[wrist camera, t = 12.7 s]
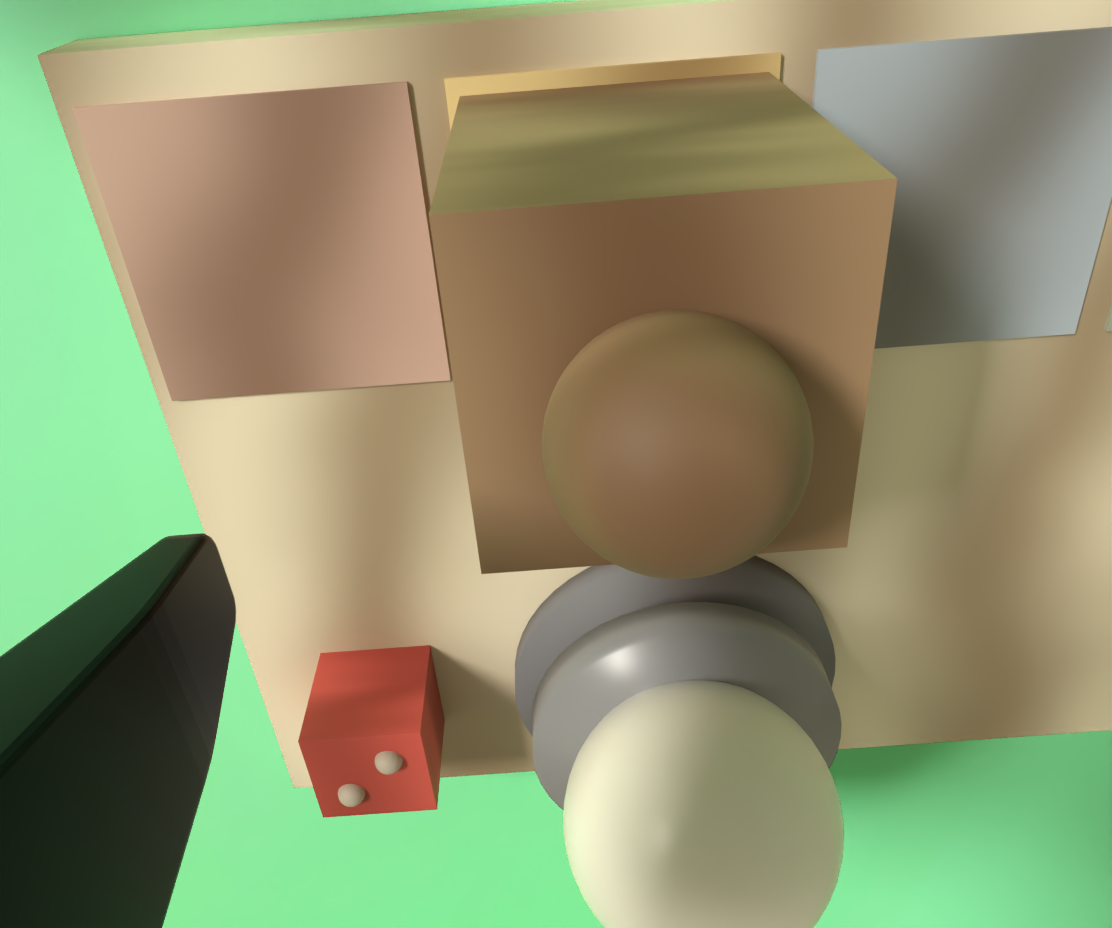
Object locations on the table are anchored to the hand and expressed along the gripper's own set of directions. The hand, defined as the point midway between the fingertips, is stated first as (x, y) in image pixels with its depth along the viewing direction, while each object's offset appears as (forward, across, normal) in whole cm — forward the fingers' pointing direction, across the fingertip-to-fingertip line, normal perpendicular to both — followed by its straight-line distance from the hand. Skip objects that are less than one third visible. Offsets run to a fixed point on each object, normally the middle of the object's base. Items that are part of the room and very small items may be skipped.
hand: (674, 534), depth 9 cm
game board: (+10, -3, +5) cm, 12 cm away
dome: (+7, -1, +11) cm, 13 cm away
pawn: (+9, 0, 0) cm, 9 cm away
